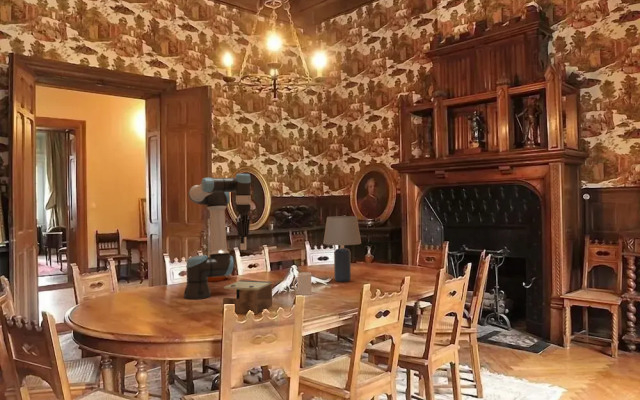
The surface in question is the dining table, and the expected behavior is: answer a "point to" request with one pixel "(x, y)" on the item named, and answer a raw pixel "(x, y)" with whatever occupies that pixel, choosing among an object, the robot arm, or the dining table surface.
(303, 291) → the mug
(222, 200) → the robot arm
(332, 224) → the lamp
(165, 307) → the dining table surface
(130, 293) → the dining table surface
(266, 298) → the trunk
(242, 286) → the lid
